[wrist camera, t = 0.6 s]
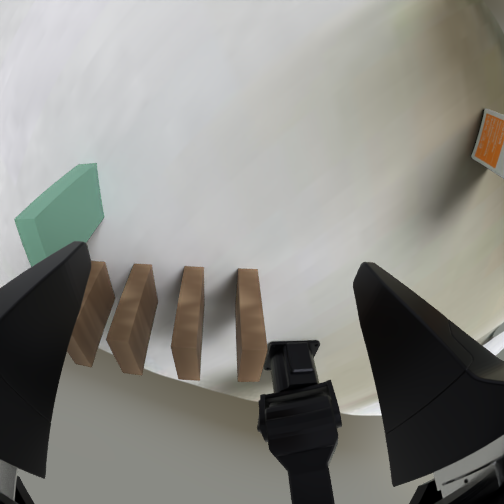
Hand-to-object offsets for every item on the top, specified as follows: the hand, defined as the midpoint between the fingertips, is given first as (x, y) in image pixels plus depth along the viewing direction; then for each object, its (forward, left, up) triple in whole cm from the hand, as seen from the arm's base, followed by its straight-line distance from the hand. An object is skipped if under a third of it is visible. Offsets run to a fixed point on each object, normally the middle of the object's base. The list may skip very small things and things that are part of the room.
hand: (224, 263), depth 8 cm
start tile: (-4, +12, -13) cm, 18 cm away
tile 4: (-14, +8, -13) cm, 21 cm away
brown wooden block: (-14, +13, -13) cm, 23 cm away
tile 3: (-14, +3, -13) cm, 19 cm away
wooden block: (-14, -2, -13) cm, 19 cm away
